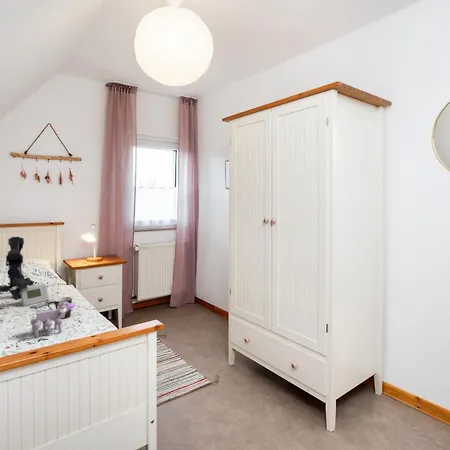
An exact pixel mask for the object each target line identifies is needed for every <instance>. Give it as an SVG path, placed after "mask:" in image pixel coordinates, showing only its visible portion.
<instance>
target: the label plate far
mask: <svg viewBox="0 0 450 450" xmlns="http://www.w3.org/2000/svg"><path fill="white" fill-rule="evenodd" d="M55 299H56V298H54V299H51V300H50V299H49V300H48V301H44V304H48V303H50V302H55V301H54V300H55ZM52 304H54V303H50V304H49V305H52Z"/></svg>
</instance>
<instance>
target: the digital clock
mask: <svg viewBox="0 0 450 450" xmlns="http://www.w3.org/2000/svg"><path fill="white" fill-rule="evenodd" d="M20 295H21V298H20V300H21V304H22V307H26V306H31V305H32V306H34V305H37V304H40V303H45V302H47V301H50V295H49V291H48V286H47V284H46V283H40V284H35V285H31V286H27V287H26V288H24V289H22V290H21V292H20Z"/></svg>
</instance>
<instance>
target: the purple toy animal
mask: <svg viewBox="0 0 450 450" xmlns="http://www.w3.org/2000/svg"><path fill="white" fill-rule="evenodd" d="M76 306H77V304H73V303H72V304H71V303H68V302H63V303H62V302H60V303H58V305H57V309H56V308H51V309H52V310H51V309H47V310H41V311H36V314H35V315H36V318H35V317H34V318H31V320H30V324H31V327H32V328H31V334H34V335H35V338H36V339H38V338H39V337H40V333H39V329H40V327H41V324H40V323H41V322H42V332H46V330H47V336H51V335H50V334H52V327H51V326H52V325H53V322H52V321H54V327H53V328H54V330H57V328H58V333H59V334H62V333H63V330H62V329H63V327H62V323H63V319H59V318H64V317H65V314H66V312H67V311H69V310H70V309H71V310H72V309H73V308H75V307H76ZM58 313H59V315H57V314H58ZM61 332H62V333H61Z"/></svg>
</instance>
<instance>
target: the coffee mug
mask: <svg viewBox="0 0 450 450" xmlns="http://www.w3.org/2000/svg"><path fill="white" fill-rule="evenodd" d="M54 299H55V300H54ZM54 299H53V300H54V301H55V302H50V303H53V304H54V306H55V310H56V309H57V305H58V303H60V302H62V303H63V302H68V303H71V304H73V302H72V301H73V298H72V297H71V296H62V297H57V298H54ZM50 303H47V304H48V305H47V306H48V308H49V310H52V309H53V308H52V307H51V306H50V305H51V304H50ZM71 314H72V309H70V310H69V311H67V312H66V314H65V317H64V318H59V319H62V320H65V319H69V318H71ZM57 315H59V313H58V314H57Z"/></svg>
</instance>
